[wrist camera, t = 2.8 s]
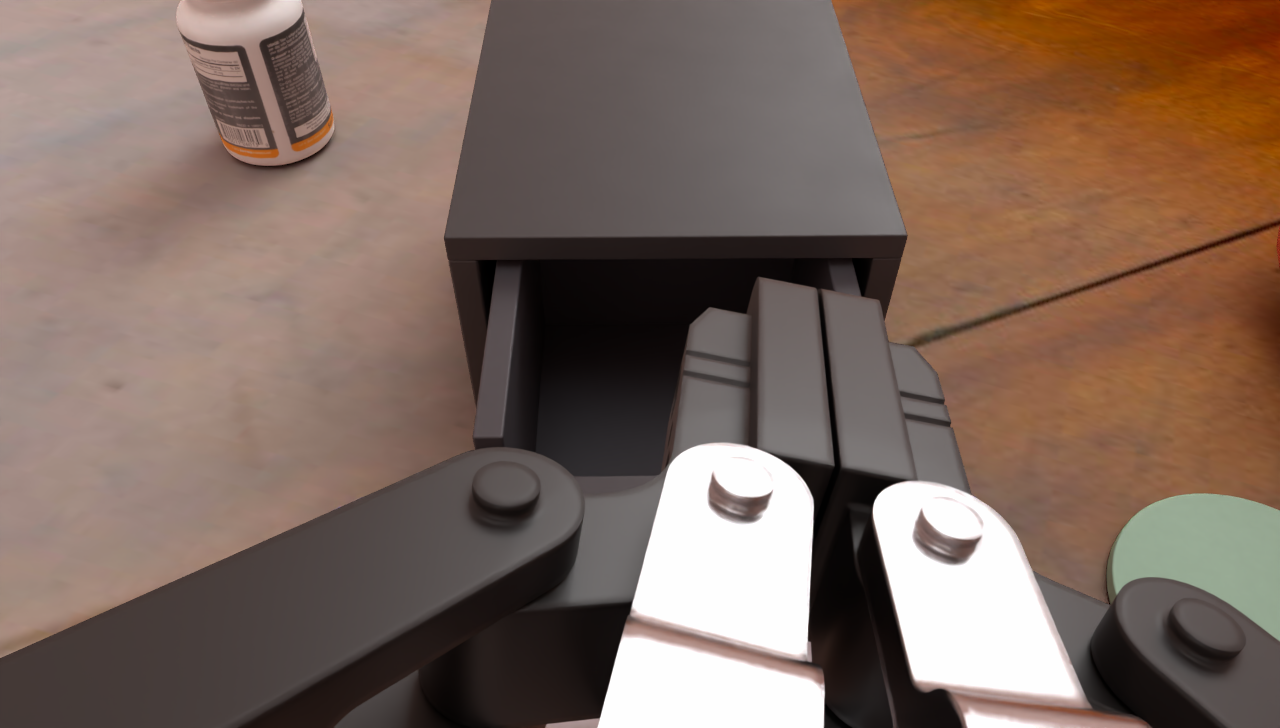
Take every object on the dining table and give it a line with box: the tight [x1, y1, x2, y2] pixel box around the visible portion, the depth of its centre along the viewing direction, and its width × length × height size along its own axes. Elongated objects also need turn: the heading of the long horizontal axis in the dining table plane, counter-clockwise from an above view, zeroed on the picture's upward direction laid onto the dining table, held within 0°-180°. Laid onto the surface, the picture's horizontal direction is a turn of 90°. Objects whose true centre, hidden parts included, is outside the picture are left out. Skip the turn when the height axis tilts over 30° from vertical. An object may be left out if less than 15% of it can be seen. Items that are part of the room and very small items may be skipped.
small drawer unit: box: [444, 0, 908, 409], centre depth 37 cm, size 16×14×10 cm
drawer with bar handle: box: [473, 258, 861, 728], centre depth 29 cm, size 19×13×8 cm, turn 1°
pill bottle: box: [176, 0, 334, 166], centre depth 46 cm, size 6×6×10 cm
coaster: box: [1106, 494, 1280, 641], centre depth 31 cm, size 9×9×1 cm
